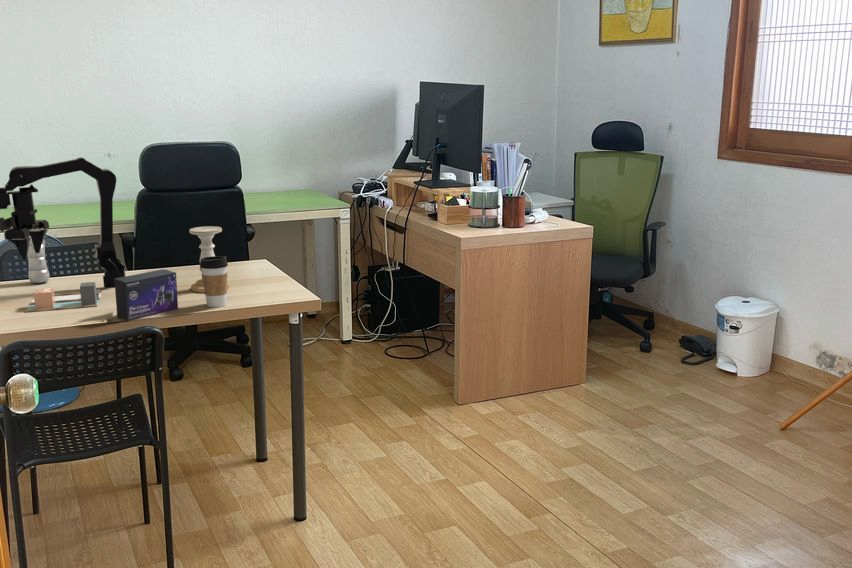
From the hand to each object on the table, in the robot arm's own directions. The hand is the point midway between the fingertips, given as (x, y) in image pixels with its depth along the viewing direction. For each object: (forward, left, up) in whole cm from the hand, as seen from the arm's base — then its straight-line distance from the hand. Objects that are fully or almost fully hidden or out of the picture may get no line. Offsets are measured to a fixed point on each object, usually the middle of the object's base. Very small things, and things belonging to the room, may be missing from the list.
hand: (31, 256), depth 264 cm
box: (-35, +31, -14) cm, 49 cm away
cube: (-5, +18, -13) cm, 22 cm away
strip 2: (-10, +9, -14) cm, 19 cm away
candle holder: (-54, +6, -14) cm, 56 cm away
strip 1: (-10, +18, -14) cm, 25 cm away
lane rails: (-10, +13, -14) cm, 21 cm away
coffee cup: (-55, +28, -14) cm, 63 cm away
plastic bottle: (+2, -22, -14) cm, 26 cm away
